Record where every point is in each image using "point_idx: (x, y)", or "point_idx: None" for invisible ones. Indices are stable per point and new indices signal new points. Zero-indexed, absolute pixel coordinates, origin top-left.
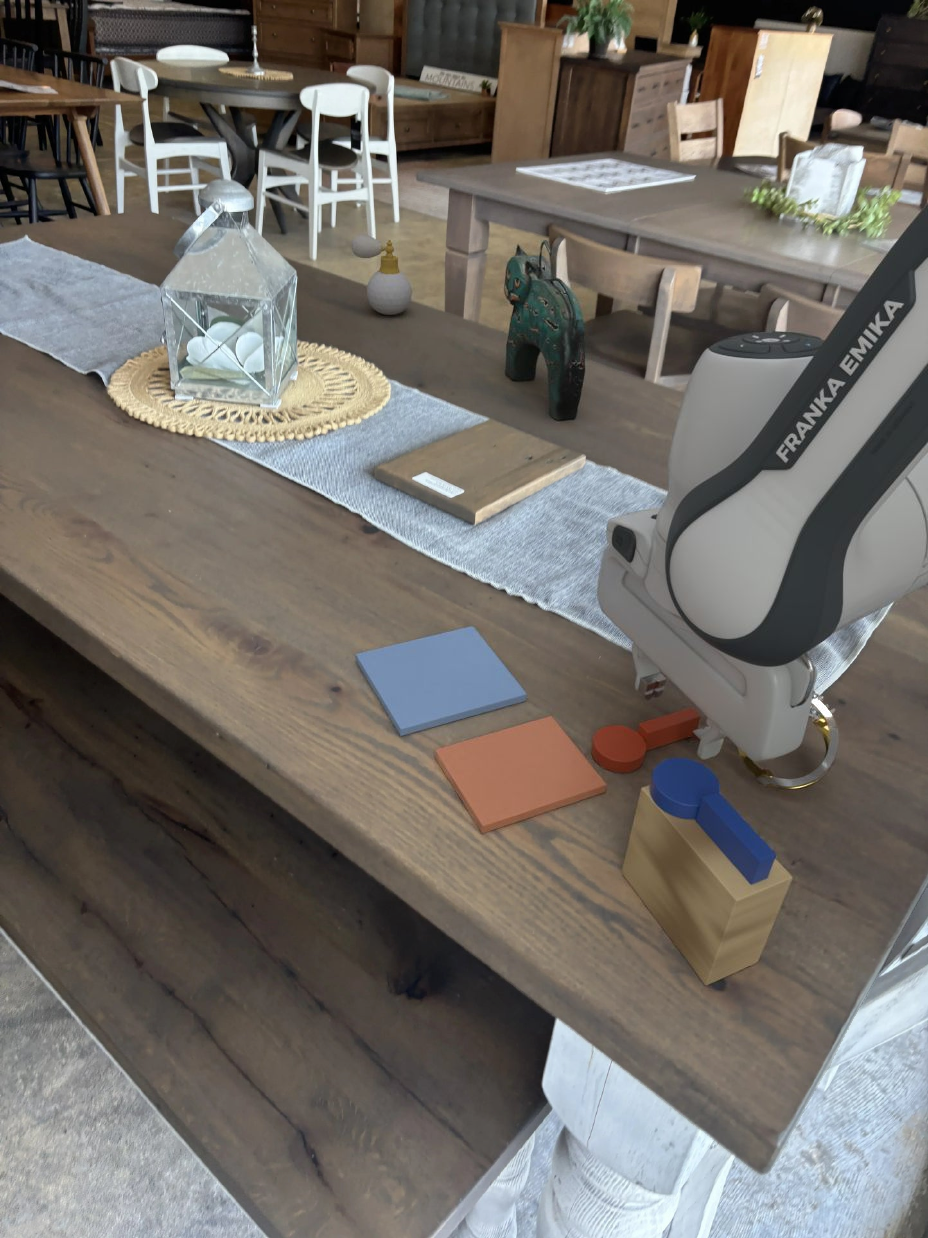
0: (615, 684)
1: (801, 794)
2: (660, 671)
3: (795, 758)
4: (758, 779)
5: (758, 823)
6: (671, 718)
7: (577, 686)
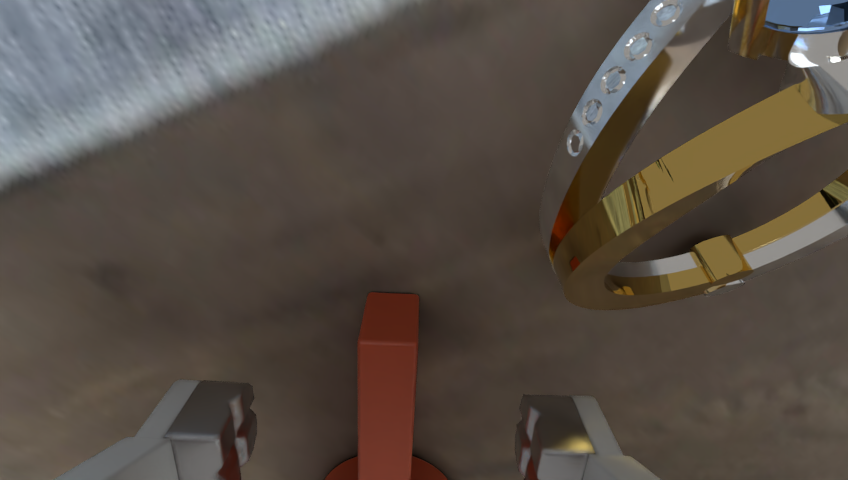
0: (107, 364)
1: (814, 168)
2: (165, 440)
3: None
4: (710, 295)
5: (778, 360)
6: (382, 434)
7: (95, 454)
